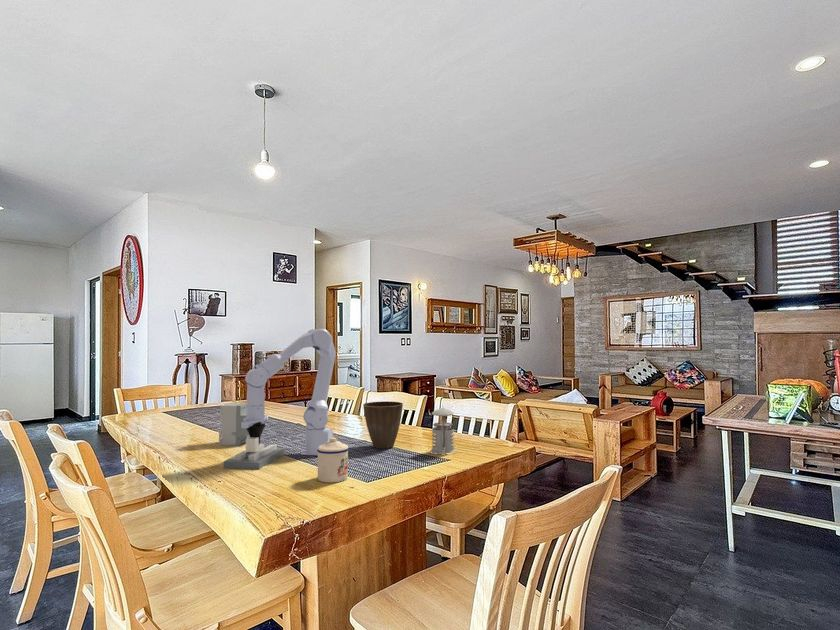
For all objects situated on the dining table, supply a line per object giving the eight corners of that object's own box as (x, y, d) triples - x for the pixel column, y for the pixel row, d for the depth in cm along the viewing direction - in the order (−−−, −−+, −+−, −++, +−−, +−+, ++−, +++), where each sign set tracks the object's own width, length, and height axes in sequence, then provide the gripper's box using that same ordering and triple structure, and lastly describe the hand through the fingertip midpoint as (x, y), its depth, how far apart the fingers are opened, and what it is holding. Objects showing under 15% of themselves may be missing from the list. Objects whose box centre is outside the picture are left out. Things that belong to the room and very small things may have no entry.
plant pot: (357, 450, 169) (357, 406, 170) (370, 441, 184) (370, 400, 184) (396, 452, 166) (396, 407, 167) (407, 443, 180) (407, 401, 181)
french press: (455, 448, 172) (454, 380, 173) (459, 456, 160) (458, 383, 161) (428, 448, 171) (428, 380, 173) (430, 456, 160) (430, 383, 161)
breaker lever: (249, 455, 154) (250, 437, 155) (258, 455, 154) (259, 437, 154) (245, 457, 151) (245, 438, 152) (254, 457, 151) (254, 439, 151)
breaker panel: (254, 452, 166) (254, 442, 167) (286, 453, 165) (286, 443, 165) (223, 467, 147) (223, 456, 147) (259, 469, 145) (259, 457, 145)
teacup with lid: (343, 484, 130) (343, 441, 130) (312, 482, 131) (312, 441, 132) (354, 471, 142) (354, 433, 142) (326, 470, 143) (326, 432, 143)
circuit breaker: (255, 445, 178) (256, 405, 179) (218, 445, 179) (219, 405, 179) (262, 440, 186) (263, 403, 186) (227, 440, 186) (228, 403, 187)
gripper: (255, 401, 163) (254, 441, 162) (232, 408, 149) (232, 451, 148) (274, 402, 162) (273, 441, 161) (253, 408, 148) (252, 451, 147)
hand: (255, 446), depth 155 cm, fingers closed
